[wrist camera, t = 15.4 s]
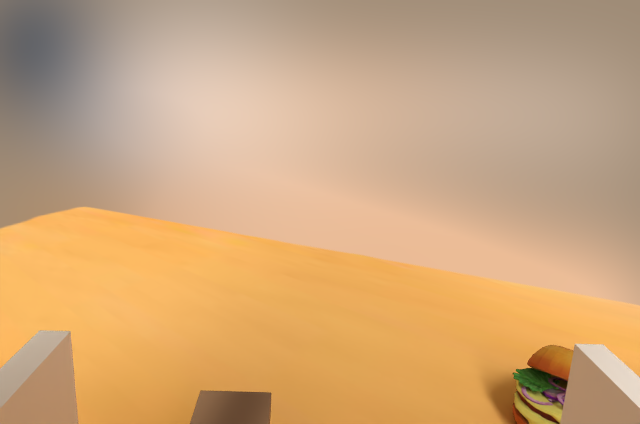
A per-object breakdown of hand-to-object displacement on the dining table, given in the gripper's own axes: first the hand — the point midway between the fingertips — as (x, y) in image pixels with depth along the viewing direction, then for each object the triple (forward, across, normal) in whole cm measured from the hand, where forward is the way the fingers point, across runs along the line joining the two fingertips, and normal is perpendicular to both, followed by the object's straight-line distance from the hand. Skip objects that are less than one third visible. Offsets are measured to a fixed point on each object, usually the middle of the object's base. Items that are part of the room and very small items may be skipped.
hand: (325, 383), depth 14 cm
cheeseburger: (+35, +28, -28) cm, 53 cm away
